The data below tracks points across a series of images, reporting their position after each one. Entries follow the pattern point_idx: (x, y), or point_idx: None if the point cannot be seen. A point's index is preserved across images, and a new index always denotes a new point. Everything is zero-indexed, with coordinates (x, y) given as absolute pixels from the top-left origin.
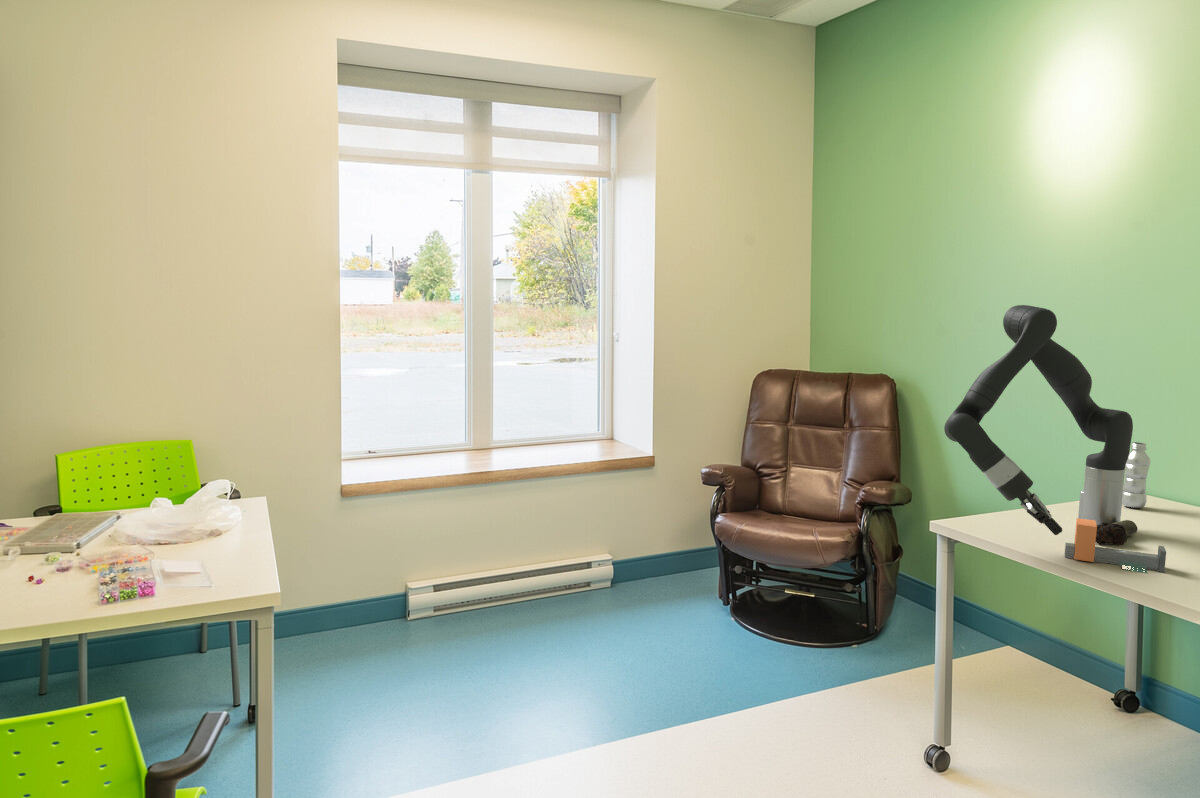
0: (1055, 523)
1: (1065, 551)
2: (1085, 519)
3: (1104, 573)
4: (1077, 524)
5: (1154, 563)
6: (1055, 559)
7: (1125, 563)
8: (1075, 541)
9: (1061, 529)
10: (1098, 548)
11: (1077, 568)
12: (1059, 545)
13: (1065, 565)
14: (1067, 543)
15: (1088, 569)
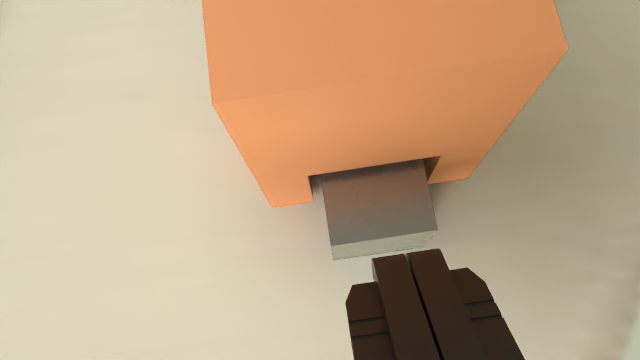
0: (470, 323)
1: (428, 237)
2: (210, 13)
3: (615, 4)
4: (566, 48)
5: None
6: (520, 294)
7: None
8: (415, 151)
9: (442, 256)
10: None
11: (635, 141)
12: (93, 327)
13: (625, 214)
14: (355, 227)
15: (602, 85)
